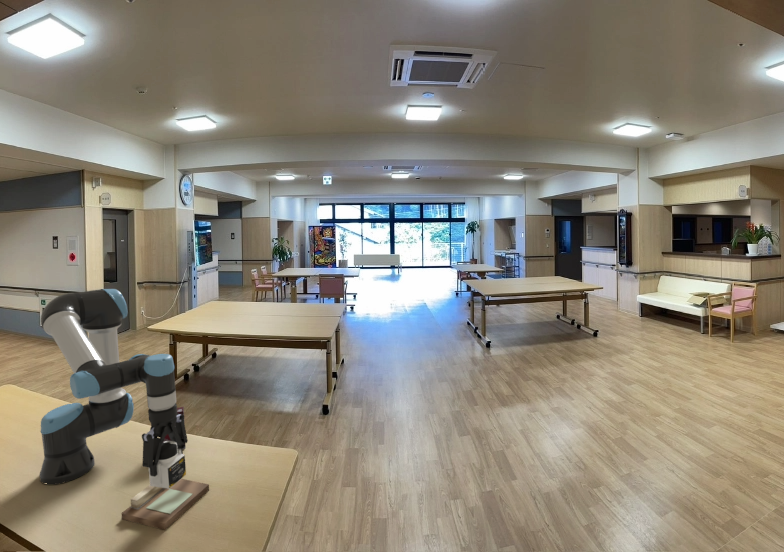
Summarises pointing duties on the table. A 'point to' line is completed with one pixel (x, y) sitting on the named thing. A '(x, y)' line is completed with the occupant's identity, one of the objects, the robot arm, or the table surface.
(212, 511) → the table surface
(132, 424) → the table surface
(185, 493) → the brown wooden board
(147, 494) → the folding leg
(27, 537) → the table surface
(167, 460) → the medicine bottle
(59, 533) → the table surface
